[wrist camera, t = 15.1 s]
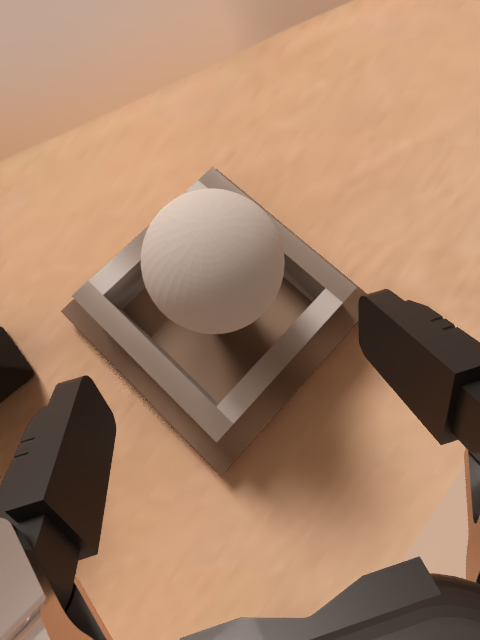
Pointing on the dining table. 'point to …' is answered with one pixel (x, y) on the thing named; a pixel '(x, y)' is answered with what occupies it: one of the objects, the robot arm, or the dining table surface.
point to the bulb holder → (218, 343)
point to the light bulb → (212, 261)
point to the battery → (11, 366)
